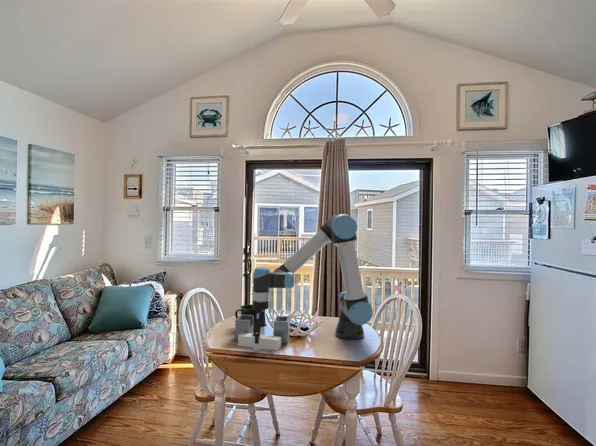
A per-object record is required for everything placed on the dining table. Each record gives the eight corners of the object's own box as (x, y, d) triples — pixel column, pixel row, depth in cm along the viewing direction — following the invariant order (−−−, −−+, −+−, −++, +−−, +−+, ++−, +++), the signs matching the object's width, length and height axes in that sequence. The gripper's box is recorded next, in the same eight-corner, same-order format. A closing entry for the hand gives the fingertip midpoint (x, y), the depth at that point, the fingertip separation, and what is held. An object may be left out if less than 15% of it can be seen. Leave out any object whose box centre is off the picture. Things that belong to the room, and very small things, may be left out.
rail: (281, 347, 166) (281, 336, 166) (277, 351, 161) (277, 340, 161) (242, 342, 171) (242, 332, 171) (237, 346, 167) (238, 335, 167)
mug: (255, 332, 187) (256, 310, 187) (230, 329, 191) (231, 307, 191) (263, 326, 197) (263, 305, 197) (239, 324, 201) (239, 303, 201)
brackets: (289, 336, 181) (289, 316, 181) (287, 343, 170) (288, 322, 170) (239, 334, 183) (240, 314, 183) (234, 341, 172) (235, 320, 172)
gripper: (257, 294, 179) (256, 336, 179) (247, 306, 154) (246, 354, 154) (271, 295, 179) (270, 336, 179) (264, 306, 154) (262, 355, 154)
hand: (259, 344), depth 166 cm, fingers open, 13 cm apart
